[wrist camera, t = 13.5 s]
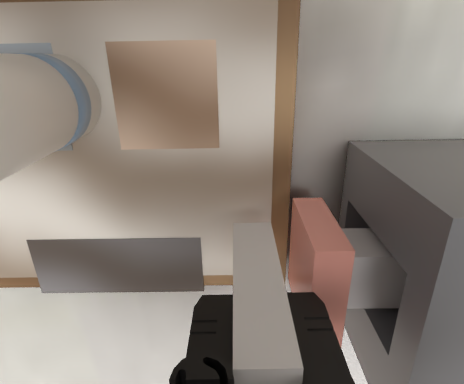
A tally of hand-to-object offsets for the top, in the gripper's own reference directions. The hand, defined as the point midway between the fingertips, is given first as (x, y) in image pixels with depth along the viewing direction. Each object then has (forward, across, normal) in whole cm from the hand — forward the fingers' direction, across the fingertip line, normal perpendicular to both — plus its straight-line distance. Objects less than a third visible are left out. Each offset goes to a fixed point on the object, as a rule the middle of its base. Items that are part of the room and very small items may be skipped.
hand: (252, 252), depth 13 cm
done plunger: (+1, +5, 0) cm, 5 cm away
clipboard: (+2, -6, +4) cm, 8 cm away
